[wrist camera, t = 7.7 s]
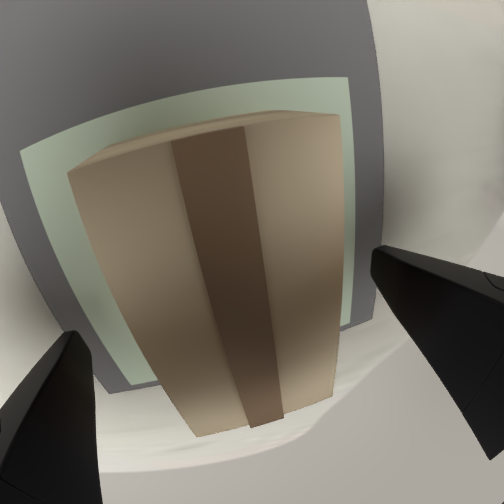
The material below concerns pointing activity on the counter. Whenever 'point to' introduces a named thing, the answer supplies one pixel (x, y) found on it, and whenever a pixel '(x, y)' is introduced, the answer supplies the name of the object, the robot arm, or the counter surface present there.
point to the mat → (170, 125)
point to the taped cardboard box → (226, 259)
